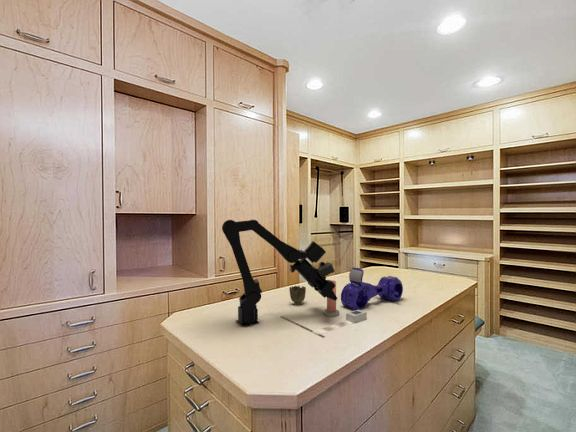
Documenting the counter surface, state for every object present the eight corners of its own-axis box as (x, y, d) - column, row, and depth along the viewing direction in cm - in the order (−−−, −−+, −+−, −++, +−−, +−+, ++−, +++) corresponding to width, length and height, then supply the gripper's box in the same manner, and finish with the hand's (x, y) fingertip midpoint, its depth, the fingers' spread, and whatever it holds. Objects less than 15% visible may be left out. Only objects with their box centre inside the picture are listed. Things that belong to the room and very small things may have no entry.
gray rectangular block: (354, 323, 105) (354, 315, 105) (346, 319, 108) (345, 312, 108) (366, 318, 109) (366, 311, 109) (358, 316, 112) (358, 309, 112)
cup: (286, 306, 127) (286, 288, 127) (293, 301, 133) (293, 284, 133) (301, 308, 123) (301, 290, 123) (308, 304, 130) (308, 286, 130)
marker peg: (331, 317, 110) (331, 283, 110) (320, 313, 115) (320, 281, 115) (342, 314, 114) (342, 281, 114) (331, 310, 119) (331, 279, 119)
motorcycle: (358, 316, 114) (358, 272, 114) (334, 307, 126) (334, 267, 126) (409, 301, 134) (409, 263, 134) (384, 294, 146) (384, 260, 146)
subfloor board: (323, 340, 92) (323, 337, 92) (279, 318, 112) (279, 316, 112) (373, 322, 108) (373, 319, 108) (328, 306, 127) (328, 304, 127)
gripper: (330, 260, 104) (358, 288, 107) (314, 253, 123) (339, 278, 125) (309, 282, 103) (338, 311, 105) (296, 272, 121) (322, 297, 123)
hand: (334, 298), depth 115 cm, fingers closed on marker peg, 4 cm apart
